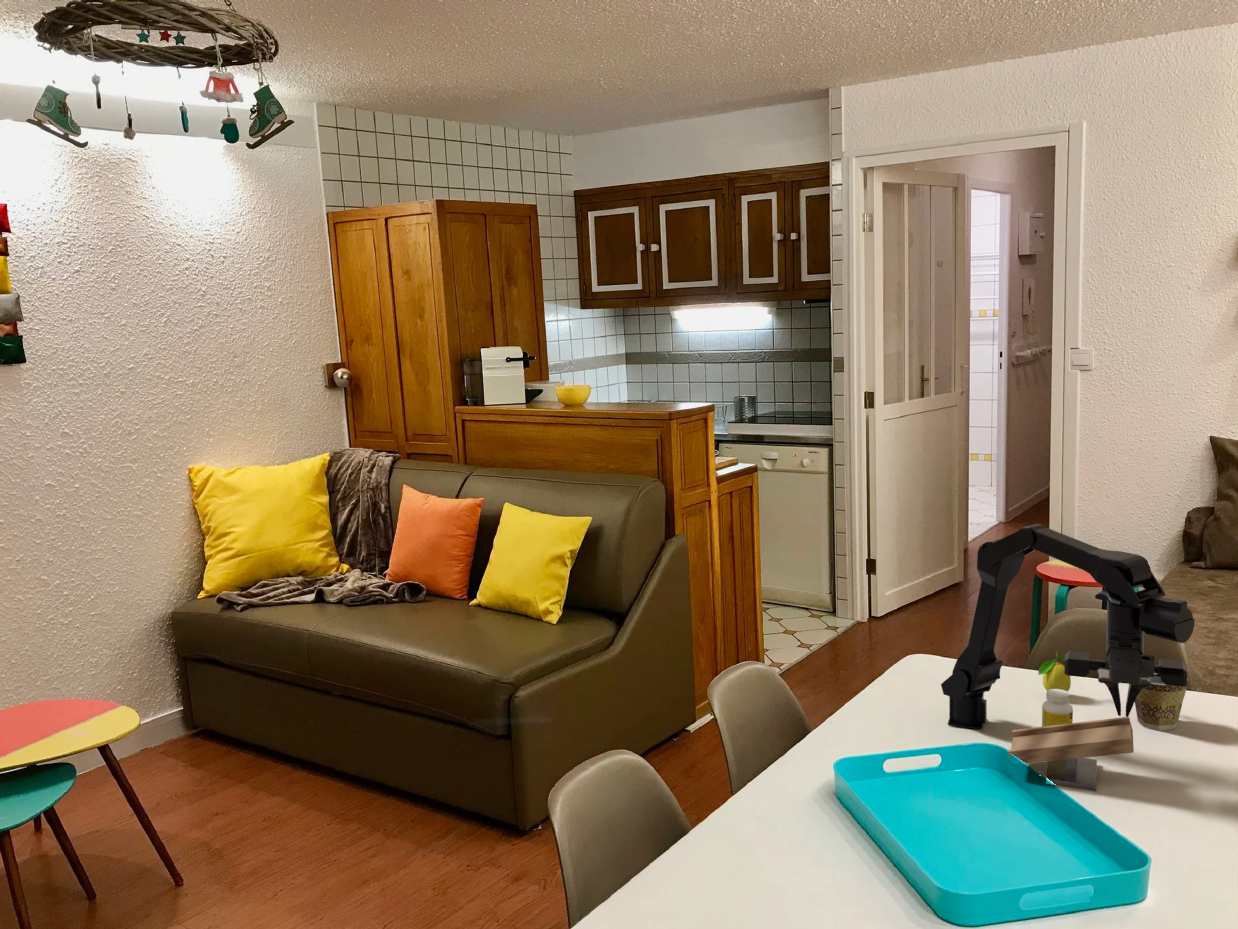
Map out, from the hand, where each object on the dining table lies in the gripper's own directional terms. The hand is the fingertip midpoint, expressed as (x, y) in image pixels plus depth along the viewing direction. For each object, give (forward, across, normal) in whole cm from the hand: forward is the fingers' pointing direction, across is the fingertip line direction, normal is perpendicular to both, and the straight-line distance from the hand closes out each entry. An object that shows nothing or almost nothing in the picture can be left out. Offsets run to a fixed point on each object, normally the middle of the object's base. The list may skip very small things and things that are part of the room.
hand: (1123, 715), depth 177 cm
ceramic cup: (+12, +6, +30) cm, 33 cm away
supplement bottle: (+12, -11, +14) cm, 22 cm away
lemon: (+12, -12, +38) cm, 42 cm away
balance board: (+7, -8, 0) cm, 11 cm away
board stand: (+12, -8, 0) cm, 14 cm away
